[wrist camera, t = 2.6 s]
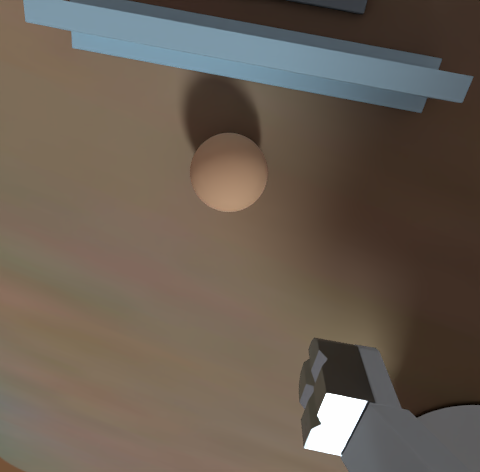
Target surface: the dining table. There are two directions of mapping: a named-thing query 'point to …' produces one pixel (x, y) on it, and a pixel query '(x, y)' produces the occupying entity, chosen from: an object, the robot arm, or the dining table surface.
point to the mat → (338, 4)
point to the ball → (228, 172)
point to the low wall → (252, 52)
